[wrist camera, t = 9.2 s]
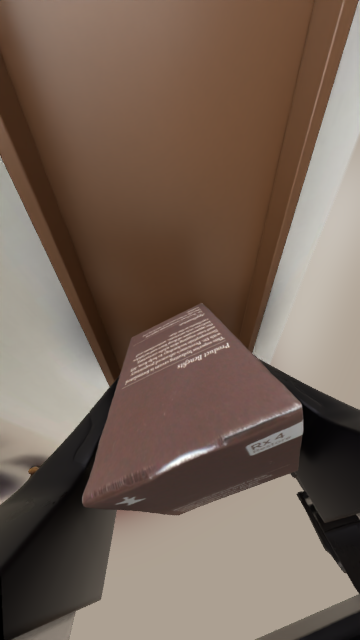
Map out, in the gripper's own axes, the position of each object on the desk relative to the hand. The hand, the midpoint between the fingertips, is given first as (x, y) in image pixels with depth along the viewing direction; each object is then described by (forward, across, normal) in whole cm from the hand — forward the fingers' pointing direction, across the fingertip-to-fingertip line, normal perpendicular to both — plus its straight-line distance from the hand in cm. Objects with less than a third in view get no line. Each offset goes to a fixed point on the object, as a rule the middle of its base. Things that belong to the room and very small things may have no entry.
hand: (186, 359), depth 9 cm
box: (+2, 0, 0) cm, 2 cm away
